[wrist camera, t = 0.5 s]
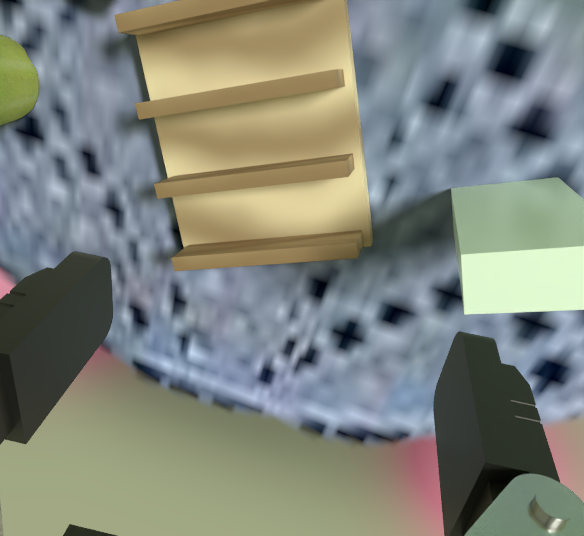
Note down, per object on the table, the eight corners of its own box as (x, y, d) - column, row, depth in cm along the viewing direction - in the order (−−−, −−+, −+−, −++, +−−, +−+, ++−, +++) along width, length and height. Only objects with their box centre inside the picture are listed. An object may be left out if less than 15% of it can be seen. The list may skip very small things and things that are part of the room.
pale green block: (450, 188, 36) (460, 254, 23) (557, 177, 34) (633, 242, 21) (453, 228, 37) (464, 314, 24) (558, 220, 35) (630, 307, 22)
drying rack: (142, 19, 37) (106, 13, 33) (344, -25, 33) (331, -39, 29) (194, 254, 42) (168, 274, 38) (373, 240, 38) (366, 260, 34)
